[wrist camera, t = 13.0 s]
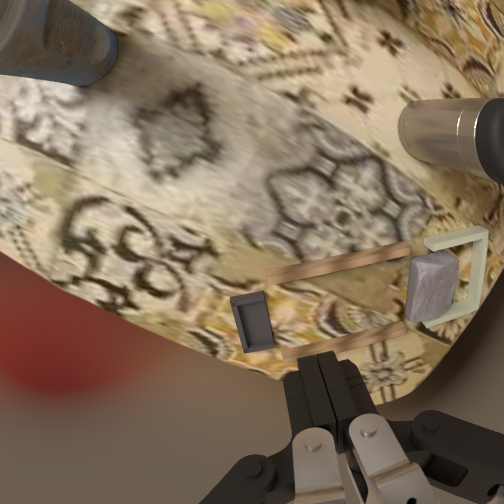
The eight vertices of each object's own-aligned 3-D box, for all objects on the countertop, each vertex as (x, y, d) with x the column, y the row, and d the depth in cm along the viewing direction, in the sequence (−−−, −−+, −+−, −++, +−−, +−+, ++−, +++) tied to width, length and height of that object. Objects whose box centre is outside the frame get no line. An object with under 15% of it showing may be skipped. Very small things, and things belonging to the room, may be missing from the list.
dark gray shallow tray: (263, 290, 48) (263, 295, 47) (273, 342, 52) (274, 347, 51) (230, 297, 48) (230, 302, 47) (243, 347, 52) (244, 353, 51)
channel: (403, 241, 47) (410, 247, 44) (400, 325, 53) (406, 333, 50) (265, 270, 47) (267, 278, 45) (282, 355, 53) (284, 364, 51)
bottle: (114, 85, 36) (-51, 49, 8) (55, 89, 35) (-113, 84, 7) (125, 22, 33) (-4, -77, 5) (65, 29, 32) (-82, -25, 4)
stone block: (446, 243, 49) (405, 256, 48) (464, 254, 45) (424, 268, 43) (437, 300, 54) (398, 316, 52) (453, 312, 50) (414, 331, 48)
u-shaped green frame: (478, 225, 46) (488, 230, 43) (470, 301, 52) (478, 309, 49) (423, 237, 46) (433, 244, 44) (419, 319, 52) (426, 328, 50)
